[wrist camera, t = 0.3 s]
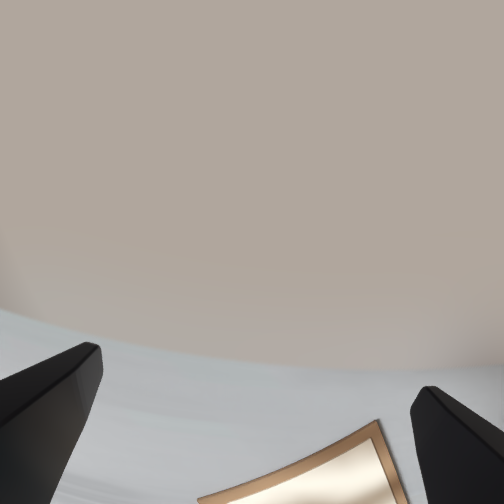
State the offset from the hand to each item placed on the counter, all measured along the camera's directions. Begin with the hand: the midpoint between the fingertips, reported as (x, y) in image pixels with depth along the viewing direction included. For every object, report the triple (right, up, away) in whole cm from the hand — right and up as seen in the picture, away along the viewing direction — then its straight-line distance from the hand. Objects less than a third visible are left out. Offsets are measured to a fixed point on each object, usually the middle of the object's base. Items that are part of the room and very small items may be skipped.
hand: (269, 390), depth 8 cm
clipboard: (+5, -18, +12) cm, 22 cm away
